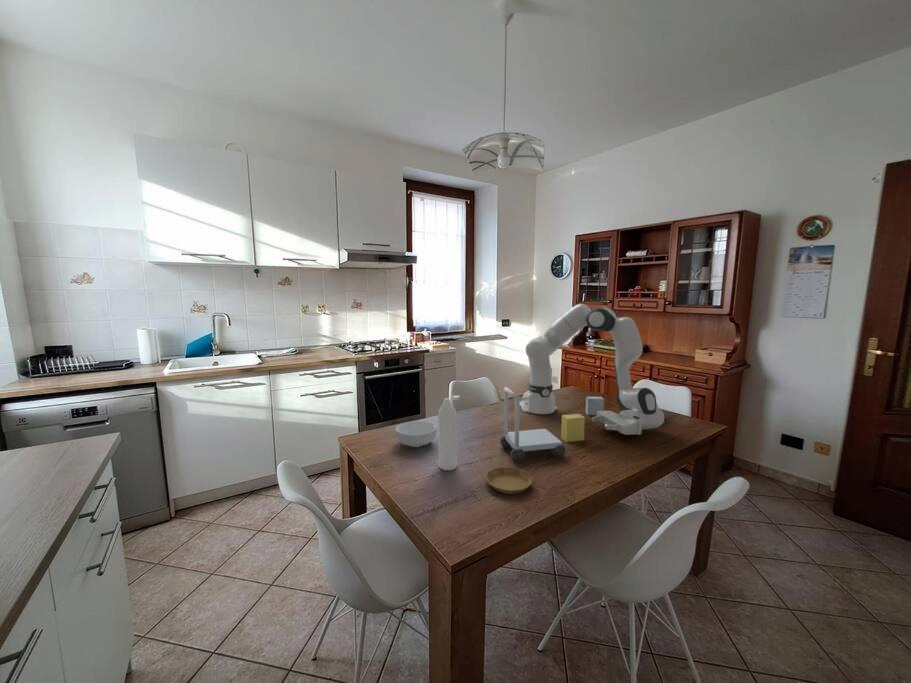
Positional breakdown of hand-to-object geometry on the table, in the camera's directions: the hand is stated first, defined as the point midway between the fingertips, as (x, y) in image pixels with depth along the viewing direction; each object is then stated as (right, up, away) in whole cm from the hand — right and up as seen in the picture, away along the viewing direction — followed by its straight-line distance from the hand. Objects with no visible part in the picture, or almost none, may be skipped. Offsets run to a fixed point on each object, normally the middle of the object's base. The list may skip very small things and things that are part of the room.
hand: (599, 423), depth 155 cm
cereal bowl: (-78, -8, -5) cm, 78 cm away
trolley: (-32, -8, -14) cm, 36 cm away
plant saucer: (-44, -12, -38) cm, 59 cm away
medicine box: (+9, -2, +29) cm, 31 cm away
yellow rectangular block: (-12, -6, -2) cm, 14 cm away
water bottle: (-63, -10, -24) cm, 69 cm away
